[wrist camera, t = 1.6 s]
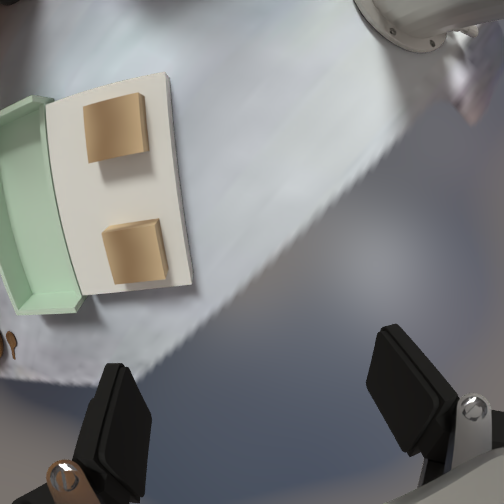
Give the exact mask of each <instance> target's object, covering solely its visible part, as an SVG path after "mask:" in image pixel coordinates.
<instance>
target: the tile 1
mask: <svg viewBox="0 0 504 504" xmlns="http://www.w3.org/2000/svg"><path fill="white" fill-rule="evenodd" d="M83 117H84V129H85V139H86V148H87V156H88V164H89V163H93V162H98V161H102V160H106V159H111V158H115V157H120V156H125V155H130V154H135V153H140V152H146V151H150V150H149V141H148V131H147V120H146V109H145V96H144V95H142V94H140V93H139V92H137V93H133V94H128V95H124V96H120V97H116V98H112V99H108V100H104V101H100V102H97V103H93V104H90V105H87V106H83Z"/></svg>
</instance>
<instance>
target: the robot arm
mask: <svg viewBox="0 0 504 504" xmlns="http://www.w3.org/2000/svg"><path fill="white" fill-rule="evenodd" d="M355 3H356V4H357V6H358V8H359V10H360V11H361V13H362V14H363V15H364V17H365V18H366V20H367V21H368V22H369V23H370V24H371V25H372V26H373V27H374V28H375V29H376V30H377V31H378V32H379V33H380V34H381V35H382V36H384V37H385V38H386V39H388V40H389V41H391V42H392V43H393V44H395V45H397V46H399V47H401V48H403V49H406V50H408V51H411V52H417V53H426V52H430V51H434V50H436V49H438V48H439V47H440V46H441V45H442V44H443V43H444V41H445V38H446V34H447V32H450V31H455V32H458V31H461V32H462V33H464V34H466V35H468V36H470V37H472V38H475V37H476V36H477V35H478V29H477V27H476V26H475V25H477V24H482V23H486V22H491V21H497V20H502V19H504V0H355ZM366 386H367V389H368V391H369V392H370V394H371V396H372V398H373V400H374V401H375V403H376V405H377V407H378V409H379V410H380V412H381V414H382V415H383V417H384V419H385V421H386V423H387V424H388V426H389V428H390V430H391V432H392V433H393V435H394V437H395V439H396V441H397V442H398V444H399V446H400V448H401V449H402V451H403V452H407V453H408V455H409V457H411V456H414V455H416V454H418V453H420V452H421V453H422V455H423V457H424V461H423V466H422V470H421V474H420V478H419V482H418V486H417V489H415V490H413V491H411V492H409V493H407V494H405V495H403V496H401V497H398V498H396V499H394V500H391V501H389V502H387V503H384V504H504V412H501V411H495V410H491V407H490V404H489V402H488V401H487V399H485V398H484V397H483V396H481V395H479V394H475V393H469V394H466V395H464V396H463V397H461V398H459V397H458V396H457V393H456V392H455V390H454V389H453V388H452V387H451V386H450V384H449V383H448V382H447V381H446V379H445V378H444V377H443V376H442V375H441V373H440V372H439V371H438V370H437V369H436V367H435V366H434V365H433V364H432V363H431V362H430V360H429V359H428V358H427V357H426V356H425V355H424V353H423V352H422V351H421V350H420V349H419V348H418V346H417V345H416V344H415V343H414V342H413V341H412V340H411V338H410V337H409V336H408V335H407V334H406V333H405V332H404V331H403V329H402V328H401V327H400V326H399V325H398V324H392V325H389V326H385V327H382V328H381V331H380V332H378V333H377V337H376V342H375V347H374V351H373V356H372V360H371V364H370V368H369V372H368V376H367V380H366ZM151 424H152V417H151V413H150V411H149V409H148V407H147V405H146V403H145V401H144V399H143V397H142V395H141V393H140V391H139V389H138V387H137V385H136V382H135V380H134V378H133V376H132V374H131V371H130V369H129V368H128V367H125V366H124V365H123V364H122V363H107V364H106V366H105V368H104V371H103V374H102V376H101V379H100V382H99V385H98V388H97V391H96V394H95V397H94V398H93V399H92V400H91V401H90V403H89V405H88V408H87V411H86V414H85V418H84V421H83V424H82V427H81V431H80V434H79V437H78V441H77V444H76V448H75V451H74V455H73V459H72V461H71V460H59V461H57V462H55V463H53V464H52V465H51V466H50V467H49V469H48V471H47V475H46V480H47V483H45V484H43V485H42V486H40V487H38V488H36V489H35V490H33V491H31V492H29V493H27V494H25V495H24V496H21V497H20V498H18V499H16V500H15V501H13V503H12V504H129V502H132V503H140V497H143V496H144V494H145V481H146V470H147V459H148V449H149V441H150V431H151Z"/></svg>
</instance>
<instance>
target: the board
mask: <svg viewBox="0 0 504 504" xmlns="http://www.w3.org/2000/svg"><path fill="white" fill-rule="evenodd" d="M137 92H139V93H140V94H142V95H144V96H145V109H146V120H147V131H148V141H149V150H150V151H146V152H140V153H135V154H130V155H125V156H120V157H115V158H111V159H106V160H102V161H98V162H93V163H89V164H88V156H87V148H86V139H85V129H84V117H83V106H87V105H90V104H93V103H97V102H100V101H104V100H108V99H112V98H116V97H120V96H124V95H128V94H133V93H137ZM46 121H47V134H48V145H49V153H50V161H51V169H52V175H53V181H54V187H55V193H56V198H57V203H58V208H59V213H60V217H61V222H62V226H63V230H64V234H65V238H66V242H67V246H68V250H69V253H70V257H71V260H72V264H73V267H74V270H75V273H76V277H77V280H78V283H79V286H80V289H81V292H82V294H83V295H93V294H104V293H115V292H125V291H135V290H145V289H155V288H164V287H174V286H183V285H192V279H193V267H192V261H191V256H190V250H189V243H188V237H187V231H186V224H185V217H184V210H183V203H182V196H181V188H180V181H179V172H178V164H177V155H176V146H175V136H174V126H173V115H172V103H171V90H170V78H169V77H168V75H167V74H166V72H161V73H156V74H151V75H146V76H141V77H136V78H132V79H127V80H123V81H119V82H115V83H111V84H108V85H104V86H101V87H97V88H94V89H90V90H87V91H84V92H81V93H78V94H75V95H72V96H69V97H66V98H63V99H60V100H58V101H55V102H52V103H50V104H47V105H46ZM157 218H159V220H160V226H161V231H162V237H163V242H164V248H165V253H166V258H167V263H168V268H169V269H168V273H167V276H166V279H163V280H154V281H145V282H135V283H126V284H116V285H115V284H114V280H113V277H112V273H111V270H110V266H109V262H108V259H107V255H106V251H105V247H104V243H103V239H102V234H101V233H102V232H103V231H104V230H105V229H106V228H107V227H108V226H111V225H117V224H123V223H130V222H136V221H143V220H150V219H157Z"/></svg>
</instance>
